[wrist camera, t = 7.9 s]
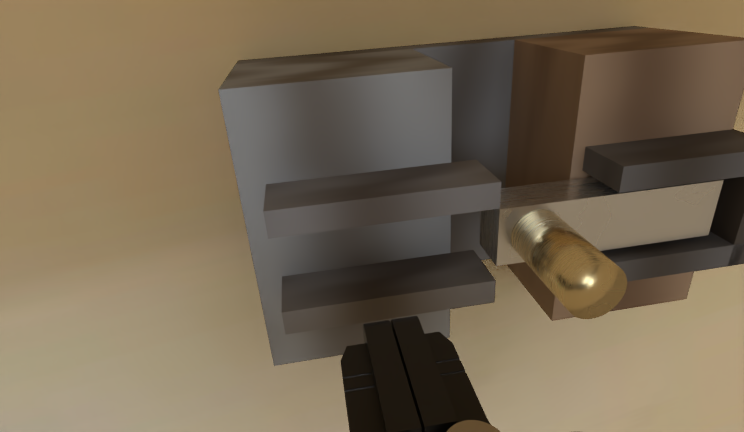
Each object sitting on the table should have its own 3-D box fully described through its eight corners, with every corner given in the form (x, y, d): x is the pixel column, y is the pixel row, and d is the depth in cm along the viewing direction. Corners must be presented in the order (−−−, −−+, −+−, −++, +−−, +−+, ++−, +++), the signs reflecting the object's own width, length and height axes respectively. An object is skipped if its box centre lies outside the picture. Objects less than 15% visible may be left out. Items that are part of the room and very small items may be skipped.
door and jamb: (634, 26, 25) (820, 45, 16) (600, 232, 30) (726, 330, 21) (238, 60, 22) (207, 105, 14) (277, 277, 27) (272, 408, 19)
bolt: (688, 164, 20) (826, 225, 15) (675, 216, 21) (800, 289, 16) (481, 190, 19) (553, 265, 14) (479, 243, 20) (545, 330, 15)
